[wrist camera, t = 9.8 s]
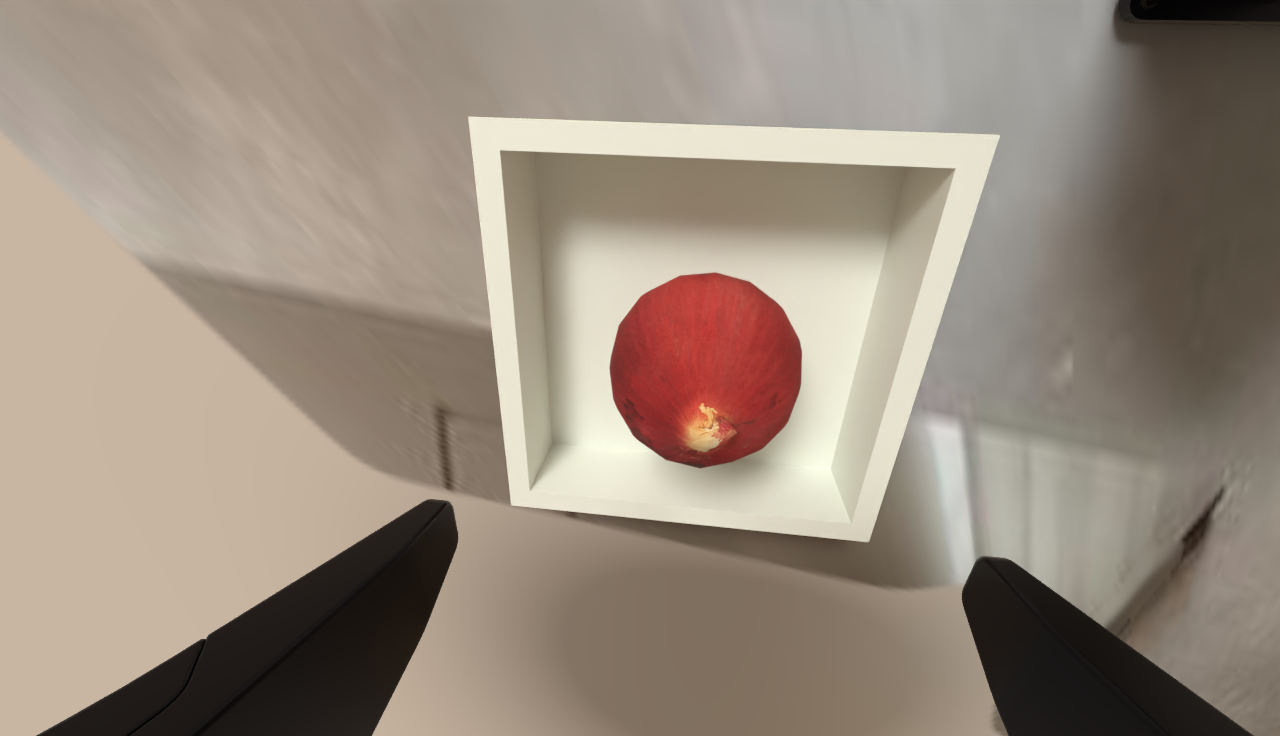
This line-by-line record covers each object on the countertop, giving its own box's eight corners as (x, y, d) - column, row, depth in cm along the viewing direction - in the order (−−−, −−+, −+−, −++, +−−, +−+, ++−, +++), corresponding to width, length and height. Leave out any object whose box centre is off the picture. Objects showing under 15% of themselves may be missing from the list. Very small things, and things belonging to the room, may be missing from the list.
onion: (750, 408, 20) (778, 567, 13) (613, 372, 20) (563, 510, 13) (805, 272, 17) (879, 375, 10) (647, 229, 17) (609, 303, 10)
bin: (931, 133, 16) (999, 135, 12) (841, 474, 22) (868, 542, 18) (517, 118, 17) (468, 116, 13) (540, 446, 23) (511, 505, 19)
